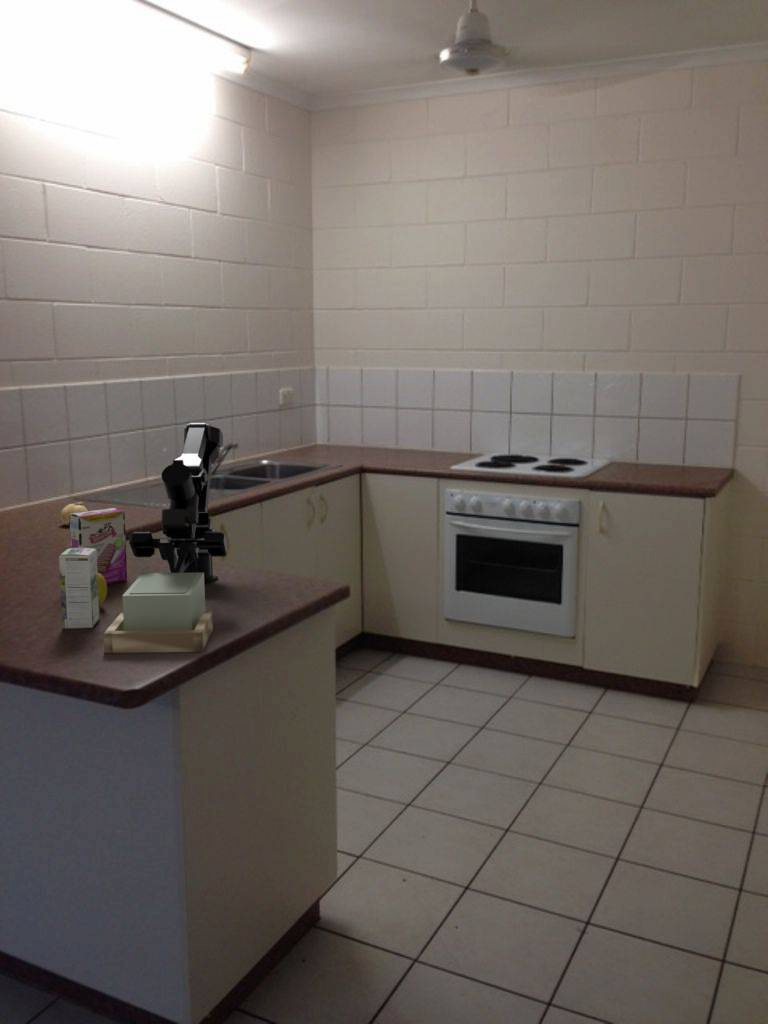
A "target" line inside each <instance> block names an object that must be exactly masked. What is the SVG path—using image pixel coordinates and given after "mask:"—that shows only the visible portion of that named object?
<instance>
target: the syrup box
mask: <svg viewBox="0 0 768 1024" xmlns="http://www.w3.org/2000/svg"><path fill="white" fill-rule="evenodd" d="M58 557H59V558H58V561H59V562H58V563H59V580H60V581H59V582H60V584H59V585H60V602H61V617H62V618H61V620H62V628H63V629H67V630H68V629H93V628H94V626H95V625H96V624H97V623H98V621H99V620H100V604H99V592H98V571H97V550H96V549H92V548H71V547H70V548H67V549H66V550H65V551H63V552H62V553H61V554H60V555H59V556H58Z"/></svg>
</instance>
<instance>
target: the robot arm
mask: <svg viewBox="0 0 768 1024" xmlns="http://www.w3.org/2000/svg"><path fill="white" fill-rule="evenodd" d="M183 431H184V432H183V448H182V451H181V454H180V456H179V457H177V458H175V459H173V461H172V463H171V464H169V465H168V466H166V467H165V468H164V469H163V470H162V472H161V476H160V477H161V480H162V484H163V486H164V490H165V494H166V497H167V499H168V500H169V504H168V507H169V508H164V509H161V524H160V525H161V527H162V533H163V536H159V538H154V537H153V535H152V532H151V531H133V532H132V533H131V534H130V536H129V540H128V543H129V545H130V549H131V551H132V554H133V556H134V557H135V558H151V557H152V556H154V555H155V552H156V551H155V550H158V552H159V555H160V557H161V559H162V560H163V561H167V563H168V567H169V570H170V573H204V584H207V583H210V582H213V581H215V580H217V578H218V579H219V575H213V573H214V572H213V571H214V570H213V569H214V568H213V557H216V558H217V557H226V556H227V555H228V542H227V537H226V534H225V532H223V531H222V530H215V528H213V527H214V526H213V524H212V520H211V517H210V516H209V513H208V511H209V499H210V488H211V487H210V486H211V477H212V465H213V464H214V463H215V462H216V461H217V459H218V458H220V453H221V448H223V446H224V436H223V432H222V430H221V429H220V428H219V427H216V426H212V425H211V424H210V423H207V422H190V423H187V424H186V428H184V430H183ZM209 581H210V582H209Z"/></svg>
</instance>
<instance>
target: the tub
mask: <svg viewBox="0 0 768 1024" xmlns="http://www.w3.org/2000/svg"><path fill="white" fill-rule="evenodd" d="M205 588H206V587H205V583H204V573H171V572H150V573H149V572H148V573H146V572H145V573H144V572H143V573H141V574H140V575H139V576H138V577H137V578H136V580H135V581H134V582H133V583H132V584H131V585H130V586H129V587H128V589H127V590H126V591H125V592H124V593H123V594H122V613H123V616H124V631H155V630H195V628H196V626H197V624H198V622H199V620H200V619H201V617H202V615H203V613H204V612H206V597H205V596H206V594H205V593H206V590H205Z"/></svg>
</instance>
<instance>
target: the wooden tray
mask: <svg viewBox="0 0 768 1024" xmlns="http://www.w3.org/2000/svg"><path fill="white" fill-rule="evenodd" d="M213 622H214V621H213V611H205V612H204V613H203V615H202V617H201V619H200V620H199V622H198V624H197V626H196V628H195V630H155V631H124V616H123V612H120V613H119V615H118V616H117V617H116V618H115V619H114V620H113V622H112V623H111V624H110V625H109V626H108V628H107V629H105V631H104V632H103V634H102V635H103V638H102V639H103V650H104V651H103V653H104V654H125V653H126V654H130V653H139V654H140V653H141V654H142V653H199V652H200V653H202V652H203V651H204V650H205V648H206V645H207V643H208V641H209V638H210V637H209V636H211V634H212V632H213V631H214V626H213V625H214V623H213Z"/></svg>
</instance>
